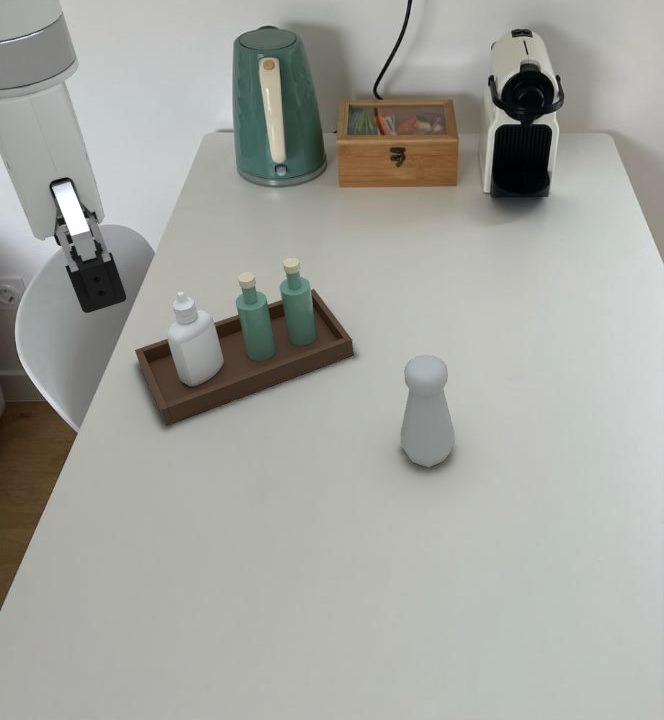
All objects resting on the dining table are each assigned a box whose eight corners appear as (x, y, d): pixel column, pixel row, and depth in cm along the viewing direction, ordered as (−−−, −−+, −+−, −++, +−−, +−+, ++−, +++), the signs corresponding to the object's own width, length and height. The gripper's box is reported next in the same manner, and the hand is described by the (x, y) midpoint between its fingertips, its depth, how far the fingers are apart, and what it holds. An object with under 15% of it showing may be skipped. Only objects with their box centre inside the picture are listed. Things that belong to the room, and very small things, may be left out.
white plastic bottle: (230, 376, 97) (210, 297, 88) (183, 391, 95) (159, 312, 87) (221, 354, 100) (201, 276, 91) (175, 368, 98) (151, 289, 90)
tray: (166, 425, 92) (160, 409, 90) (140, 365, 100) (134, 349, 98) (353, 355, 100) (352, 339, 98) (316, 304, 107) (314, 288, 105)
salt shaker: (430, 424, 91) (429, 337, 82) (465, 454, 87) (468, 366, 78) (390, 450, 88) (384, 363, 79) (424, 482, 85) (422, 394, 76)
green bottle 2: (294, 349, 100) (282, 275, 92) (284, 333, 102) (270, 258, 94) (321, 339, 101) (311, 265, 93) (310, 323, 103) (299, 249, 96)
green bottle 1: (252, 364, 98) (236, 290, 90) (242, 347, 100) (225, 273, 93) (280, 354, 99) (266, 280, 91) (269, 338, 102) (255, 263, 94)
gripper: (-66, 20, 55) (22, 231, 67) (-38, 119, 44) (62, 352, 56) (46, -1, 58) (113, 205, 70) (100, 87, 47) (169, 317, 58)
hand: (90, 270), depth 63 cm, fingers open, 9 cm apart
